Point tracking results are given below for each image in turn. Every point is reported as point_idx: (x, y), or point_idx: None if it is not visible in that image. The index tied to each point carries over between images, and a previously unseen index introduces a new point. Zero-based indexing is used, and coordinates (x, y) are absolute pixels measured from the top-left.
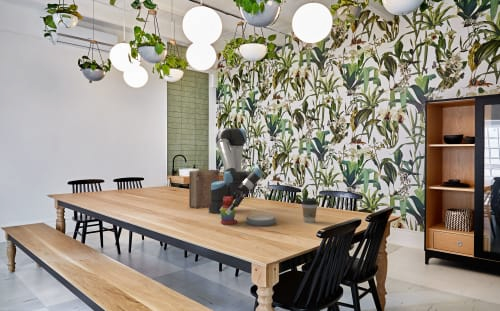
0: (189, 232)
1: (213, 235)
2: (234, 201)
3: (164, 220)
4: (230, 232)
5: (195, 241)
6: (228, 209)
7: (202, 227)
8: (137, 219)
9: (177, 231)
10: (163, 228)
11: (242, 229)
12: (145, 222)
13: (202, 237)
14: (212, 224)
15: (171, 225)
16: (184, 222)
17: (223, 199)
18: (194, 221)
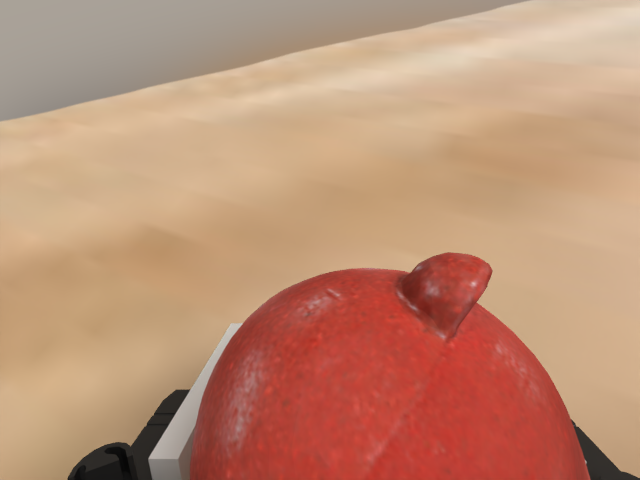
0: (227, 116)
1: (85, 187)
2: None
3: (560, 76)
4: (51, 296)
5: (70, 106)
6: (208, 361)
7: (297, 188)
8: (597, 9)
9: (278, 85)
10: (366, 56)
11: (34, 441)
12: (519, 24)
13: (99, 138)
14: None
15: (418, 84)
16: (481, 139)
17: (390, 270)
18: (502, 191)
